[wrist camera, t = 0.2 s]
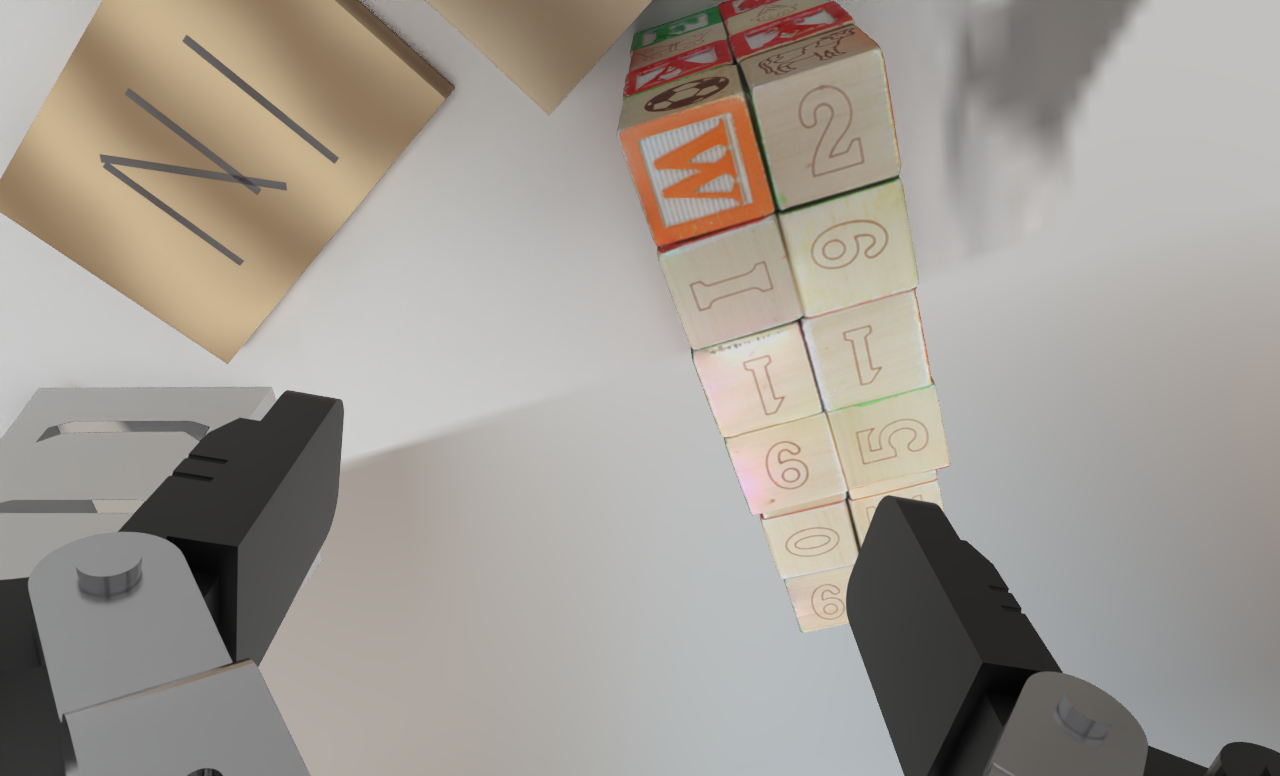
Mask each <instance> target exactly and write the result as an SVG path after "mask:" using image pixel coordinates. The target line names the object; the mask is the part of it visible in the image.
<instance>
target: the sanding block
mask: <svg viewBox="0 0 1280 776" xmlns="http://www.w3.org/2000/svg"><path fill="white" fill-rule="evenodd" d="M425 1H427V2H428V3H429V4H430V5H431V6H432V7H433V8H434V9H435V10H436V11H437V12H438V13H439V14H440V15H442V16H443V17H444V18H445V19H446V20H447V21H448V22H449V23H450V24H451V25H452V26H453V27H454V28H456V29H457V30H458V31H459V32H460V33H461V34H462V35H463V36H464V37H465V38H466V39H467V40H468V41H470V42H471V43H472V44H473V45H474V46H475V47H476V48H477V49H478V50H479V51H480V52H481V53H482V54H483V55H485V56H486V57H487V58H488V59H489V60H490V61H491V62H492V63H493V64H494V65H495V66H496V67H497V68H499V69H500V70H501V71H502V72H503V73H504V74H505V75H506V76H507V77H508V78H509V79H510V80H511V81H513V82H514V83H515V84H516V85H517V86H518V87H519V88H520V89H521V90H522V91H523V92H524V93H525V94H526V95H528V96H529V97H530V98H531V99H532V100H533V101H534V102H535V103H536V104H537V105H538V106H539V107H540V108H542V109H543V110H544V111H545V112H546V113H547V114H548V115H550V114H551V113H552V112H553V111H554V109H555V108H556V107H557V106H558V105H559V104H560V103H561V102H562V101H563V99H564V98H565V97H566V96H567V95H568V94H569V93H570V92H571V91H572V89H573V88H574V87H575V86H576V85H577V84H578V83H579V82H580V81H581V79H582V78H583V77H584V76H585V75H586V74H587V73H588V72H589V70H590V69H591V68H592V67H593V66H594V65H595V64H596V63H597V62H598V60H599V59H600V58H601V57H602V56H603V55H604V54H605V53H606V52H607V50H608V49H609V48H610V47H611V46H612V45H613V44H614V43H615V42H616V40H617V39H618V38H619V37H620V36H621V35H622V34H623V33H624V31H625V30H626V29H627V28H628V27H629V26H630V25H631V24H632V23H633V21H634V20H635V19H636V18H637V17H638V16H639V15H640V14H641V13H642V11H643V10H644V9H645V8H646V7H647V6H648V5H649V4H650V3H651V1H652V0H425Z"/></svg>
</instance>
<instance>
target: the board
mask: <svg viewBox="0 0 1280 776" xmlns="http://www.w3.org/2000/svg"><path fill="white" fill-rule="evenodd" d="M454 88H455V87H454V86H453V85H451V84H450V83H449V82H448V81H447V80H446V79H445V78H444V77H443V76H441V75H440V74H439V73H438V72H437V71H436V70H435V69H434V68H433V67H431V66H430V65H429V64H428V63H427V62H426V61H425V60H424V59H423V58H421V57H420V56H419V55H418V54H417V53H416V52H415V51H414V50H413V49H411V48H410V47H409V46H408V45H407V44H406V43H405V42H404V41H402V40H401V39H400V38H399V37H398V36H397V35H396V34H395V33H394V32H392V31H391V30H390V29H389V28H388V27H387V26H386V25H385V24H384V23H382V22H381V21H380V20H379V19H378V18H377V17H376V16H375V15H374V14H372V13H371V12H370V11H369V10H368V9H367V8H366V7H365V6H364V5H362V4H361V3H360V2H359V1H358V0H103V1H102V2H101V4H100V6H99V8H98V9H97V11H96V13H95V15H94V16H93V18H92V20H91V22H90V23H89V25H88V27H87V29H86V30H85V32H84V34H83V36H82V37H81V39H80V41H79V43H78V44H77V46H76V48H75V50H74V51H73V53H72V55H71V57H70V58H69V60H68V62H67V64H66V65H65V67H64V69H63V71H62V72H61V74H60V76H59V78H58V79H57V81H56V83H55V85H54V86H53V88H52V90H51V92H50V93H49V95H48V97H47V99H46V100H45V102H44V104H43V106H42V107H41V109H40V111H39V113H38V114H37V116H36V118H35V120H34V122H33V123H32V125H31V127H30V129H29V130H28V132H27V134H26V136H25V137H24V139H23V141H22V143H21V144H20V146H19V148H18V150H17V151H16V153H15V155H14V157H13V158H12V160H11V162H10V164H9V165H8V167H7V169H6V171H5V172H4V174H3V176H2V178H1V179H0V212H1V213H2V214H4V215H5V216H7V217H8V218H10V219H11V220H13V221H14V222H16V223H17V224H19V225H20V226H22V227H23V228H25V229H26V230H28V231H29V232H31V233H32V234H34V235H35V236H37V237H38V238H40V239H41V240H43V241H44V242H46V243H47V244H49V245H50V246H52V247H53V248H55V249H56V250H58V251H59V252H61V253H62V254H64V255H65V256H67V257H68V258H70V259H71V260H73V261H74V262H76V263H77V264H79V265H80V266H82V267H83V268H85V269H86V270H88V271H89V272H91V273H92V274H94V275H95V276H97V277H98V278H100V279H101V280H103V281H104V282H106V283H107V284H109V285H110V286H112V287H113V288H115V289H116V290H118V291H119V292H121V293H122V294H124V295H125V296H127V297H128V298H130V299H131V300H133V301H134V302H136V303H137V304H139V305H140V306H141V307H143V308H144V309H146V310H147V311H149V312H150V313H152V314H153V315H155V316H156V317H158V318H159V319H161V320H162V321H164V322H165V323H167V324H168V325H170V326H171V327H173V328H174V329H176V330H177V331H179V332H180V333H182V334H183V335H185V336H186V337H188V338H189V339H191V340H192V341H194V342H195V343H197V344H198V345H200V346H201V347H203V348H204V349H206V350H207V351H209V352H210V353H212V354H213V355H215V356H216V357H218V358H219V359H221V360H222V361H224V362H225V363H227V364H228V363H229V362H230V361H231V359H232V358H233V357H234V356H235V355H236V353H237V352H238V351H239V350H240V348H241V347H242V346H243V345H244V344H245V342H246V341H247V340H248V339H249V338H250V336H251V335H252V334H253V333H254V331H255V330H256V329H257V328H258V327H259V325H260V324H261V323H262V322H263V321H264V319H265V318H266V317H267V316H268V314H269V313H270V312H271V311H272V310H273V308H274V307H275V306H276V305H277V303H278V302H279V301H280V300H281V299H282V297H283V296H284V295H285V294H286V293H287V291H288V290H289V289H290V288H291V286H292V285H293V284H294V283H295V282H296V280H297V279H298V278H299V277H300V276H301V274H302V273H303V272H304V271H305V269H306V268H307V267H308V266H309V265H310V263H311V262H312V261H313V260H314V259H315V257H316V256H317V255H318V254H319V252H320V251H321V250H322V249H323V248H324V246H325V245H326V244H327V243H328V242H329V240H330V239H331V238H332V237H333V235H334V234H335V233H336V232H337V231H338V229H339V228H340V227H341V226H342V225H343V223H344V222H345V221H346V220H347V218H348V217H349V216H350V215H351V214H352V212H353V211H354V210H355V209H356V208H357V206H358V205H359V204H360V203H361V201H362V200H363V199H364V198H365V197H366V195H367V194H368V193H369V192H370V191H371V189H372V188H373V187H374V186H375V184H376V183H377V182H378V181H379V180H380V178H381V177H382V176H383V175H384V173H385V172H386V171H387V170H388V169H389V167H390V166H391V165H392V164H393V163H394V161H395V160H396V159H397V158H398V156H399V155H400V154H401V153H402V152H403V150H404V149H405V148H406V147H407V146H408V144H409V143H410V142H411V141H412V139H413V138H414V137H415V136H416V135H417V133H418V132H419V131H420V130H421V129H422V127H423V126H424V125H425V124H426V122H427V121H428V120H429V119H430V118H431V116H432V115H433V114H434V113H435V112H436V110H437V109H438V108H439V107H440V105H441V104H442V103H443V102H444V101H445V99H446V98H447V97H448V96H449V94H450V93H451V92H452V91H453V89H454Z"/></svg>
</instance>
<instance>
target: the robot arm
mask: <svg viewBox="0 0 1280 776" xmlns="http://www.w3.org/2000/svg"><path fill="white" fill-rule="evenodd" d="M343 418H344V408H343V402H342V400H340V399H335V398H330V397H324V396H318V395H312V394H307V393H301V392H295V391H289V390H288V391H285V392H284V393H283V394H282V395H281V396H280V398H279V399H278V400H277V401H276V403H275V404H274V405H273V406H272V407H271V409H270V410H269V411H268V412H267V414H266V415H265V416H264V417H263V418H262V420H261V421H258V420H252V419H246V418H238V419H236V420H234V421H232V422H230V423H227V424H225V425H223V426H221V427H219V428H217V429H215V430H213V431H211V432H209V433H207V434H206V435H205V437H204V438H203V439H202V440H201V441H200V442H199V443H198V444H197V445H196V446H195V447H194V449H193V450H192V451H191V452H190V453H189V456H188V458H184V460H183V461H182V462H181V463H180V464H179V465H178V466H177V467H176V468H175V469H174V471H173V474H172V476H168V477H167V478H166V479H165V480H164V481H163V483H162V484H161V485H160V486H159V487H158V488H157V489H156V490H155V491H154V492H153V494H152V495H151V496H150V497H149V498H148V499H147V500H146V501H145V502H144V503H143V504H142V506H141V507H140V508H139V509H138V510H137V511H136V512H135V513H134V514H133V515H132V517H131V518H130V519H129V520H128V521H127V522H126V523H125V524H124V525H123V526H122V527H121V529H120V530H119V531H118V532H111V533H104V534H97V535H93V536H89V537H84V538H81V539H78V540H75V541H72V542H70V543H68V544H66V545H63V546H61V547H59V548H57V549H56V550H54V551H52V552H51V553H49V554H48V555H47V556H45V557H44V558H43V559H42V560H41V561H40V562H39V563H38V564H37V565H36V566H35V567H34V569H33V570H32V572H31V574H30V577H25V578H16V579H5V580H0V776H311V775H310V773H309V771H308V769H307V767H306V765H305V763H304V761H303V759H302V757H301V755H300V753H299V750H298V748H297V746H296V744H295V742H294V740H293V738H292V736H291V734H290V732H289V730H288V728H287V726H286V724H285V722H284V719H283V718H282V715H281V713H280V711H279V709H278V707H277V705H276V703H275V701H274V699H273V697H272V695H271V693H270V691H269V688H268V686H267V684H266V682H265V680H264V678H263V676H262V674H261V672H260V670H259V668H258V666H259V664H260V662H261V661H262V659H263V657H264V655H265V653H266V651H267V649H268V647H269V645H270V643H271V642H272V640H273V638H274V636H275V634H276V632H277V630H278V628H279V626H280V625H281V623H282V621H283V619H284V617H285V615H286V613H287V611H288V609H289V607H290V605H291V604H292V602H293V600H294V598H295V596H296V594H297V592H298V590H299V588H300V587H301V585H302V583H303V581H304V579H305V577H306V575H307V573H308V571H309V569H310V568H311V566H312V564H313V562H314V560H315V558H316V556H317V554H318V552H319V550H320V549H321V546H322V545H323V543H324V541H325V539H326V537H327V535H328V532H329V530H330V527H331V524H332V521H333V517H334V513H335V509H336V504H337V497H338V488H339V474H340V460H341V446H342V432H343ZM1008 589H1009V588H1008V587H1007V585H1006V584H1005V582H1004V581H1003V579H1002V578H1001V576H1000V574H999V573H998V571H997V570H996V568H995V567H994V565H993V564H992V563H991V562H990V561H989V560H987V559H986V558H985V557H984V556H983V555H982V554H981V553H979V552H978V551H977V550H976V549H975V548H974V547H973V546H972V545H970V544H969V543H968V542H967V541H964V540H960V538H959V537H958V535H957V534H956V532H955V530H954V529H953V527H952V525H951V524H950V522H949V521H948V519H947V517H946V516H945V514H944V512H943V511H942V509H941V508H940V506H939V505H937V504H936V503H931V502H926V501H920V500H914V499H908V498H902V497H897V496H891V495H887V496H885V497H884V498H882V500H881V501H880V502H879V504H878V506H877V508H876V510H875V513H874V515H873V518H872V520H871V523H870V526H869V528H868V531H867V533H866V536H865V539H864V541H863V544H862V546H861V549H860V552H859V554H858V557H857V559H856V562H855V564H854V567H853V570H852V572H851V575H850V578H849V581H848V586H847V593H846V611H847V617H848V620H849V623H850V626H851V628H852V631H853V634H854V637H855V640H856V642H857V645H858V648H859V651H860V654H861V656H862V659H863V662H864V665H865V667H866V670H867V673H868V676H869V679H870V681H871V684H872V687H873V690H874V692H875V695H876V698H877V701H878V703H879V706H880V709H881V712H882V715H883V717H884V720H885V723H886V726H887V728H888V731H889V734H890V737H891V739H892V742H893V745H894V748H895V751H896V753H897V756H898V759H899V762H900V764H901V767H902V770H903V773H904V775H905V776H1280V753H1278V752H1276V751H1274V750H1272V749H1269V748H1266V747H1263V746H1260V745H1256V744H1252V743H1246V742H1233V743H1230V744H1227V745H1226V746H1224V747H1223V748H1222V750H1221V751H1220V753H1219V754H1218V756H1217V757H1216V759H1215V760H1214V762H1213V763H1212V765H1211V766H1210V767H1209V768H1206V767H1203V766H1200V765H1198V764H1195V763H1193V762H1190V761H1187V760H1185V759H1182V758H1180V757H1177V756H1174V755H1172V754H1169V753H1166V752H1164V751H1161V750H1159V749H1156V748H1153V747H1151V746H1148V742H1147V738H1146V735H1145V733H1144V731H1143V729H1142V727H1141V726H1140V724H1139V723H1138V721H1137V720H1136V719H1135V718H1134V716H1133V715H1132V714H1131V713H1130V712H1129V711H1128V710H1127V709H1126V708H1125V707H1124V706H1123V705H1122V704H1121V703H1119V702H1118V701H1117V700H1116V699H1115V698H1113V697H1112V696H1110V695H1109V694H1108V693H1106V692H1105V691H1103V690H1101V689H1100V688H1098V687H1096V686H1095V685H1092V684H1091V683H1089V682H1087V681H1084V680H1082V679H1079V678H1077V677H1074V676H1071V675H1068V674H1064V673H1062V671H1061V669H1060V668H1059V666H1058V664H1057V663H1056V661H1055V660H1054V658H1053V657H1052V655H1051V654H1050V652H1049V650H1048V649H1047V647H1046V646H1045V644H1044V643H1043V641H1042V640H1041V638H1040V637H1039V635H1038V633H1037V632H1036V631H1035V629H1034V627H1033V626H1032V624H1031V623H1030V621H1029V619H1028V618H1027V616H1026V615H1025V614H1022V613H1021V607H1020V605H1019V604H1018V602H1017V601H1016V599H1015V598H1014V596H1013V595H1012V594H1011V593H1008Z"/></svg>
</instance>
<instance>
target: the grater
mask: <svg viewBox="0 0 1280 776" xmlns="http://www.w3.org/2000/svg"><path fill="white" fill-rule="evenodd" d="M275 403H276V399H275V396H274V393H273V389H272V387H151V388H39V389H38V390H37V392H36V393H35V394H34V396H33V397H32V398H31V400H30V401H29V402H28V404H27V405H26V406H25V408H24V409H23V411H22V412H21V413H20V415H19V416H18V417H17V419H16V420H15V421H14V423H13V424H12V425H11V427H10V428H9V429H8V431H7V432H6V433H5V435H4V436H3V437H2V439H1V440H0V580H5V579H16V578H25V577H30V574H31V572H32V570H33V569H34V567H35V566H36V565H37V564H38V563H39V562H40V561H41V560H42V559H43V558H44V557H45V556H47V555H48V554H49V553H51V552H52V551H54V550H56V549H57V548H59V547H61V546H63V545H66V544H68V543H70V542H72V541H75V540H78V539H81V538H84V537H89V536H93V535H97V534H104V533H111V532H118V531H119V530H120V529H121V527H122V526H123V525H124V524H125V523H126V522H127V521H128V520H129V519H130V518H131V517H132V515H133V514H132V513H97V510H96V508H95V506H94V504H93V502H92V500H143V501H146V500H147V499H148V498H149V497H150V496H151V495H152V494H153V492H154V491H155V490H156V489H157V488H158V487H159V486H160V485H161V484H162V483H163V481H164V480H165V479H166V478H167V477H168V476H172V474H173V471H174V469H175V468H176V467H177V466H178V465H179V464H180V463H181V462H182V461H183V460H184V458H188V456H189V453H190V452H191V451H192V450H193V449H194V447H195V446H196V445H197V444H198V443H199V442H200V441H198V440H197V439H195V438H193V437H192V436H190V435H189V434H187V433H186V432H98V433H97V432H94V433H63V434H61V433H60V431H59V429H58V427H57V425H61V424H65V423H70V422H74V421H194V422H197V423H200V424H203V425H206V426H209V427H210V428H209V430H208V431H207V433H209V432H211V431H213V430H215V429H217V428H219V427H221V426H223V425H225V424H227V423H230V422H232V421H234V420H236V419H238V418H246V419H252V420H258V421H261V420H262V418H263V417H264V416H265V415H266V414H267V412H268V411H269V410H270V409H271V407H272V406H273V405H274V404H275ZM207 433H206V434H207ZM204 437H205V436H204ZM321 561H322V557H321V553H320V550H319V552H318V554H317V556H316V558H315V560H314V562H313V564H312V566H311V568H310V569H309V571H308V573H307V575H306V577H305V579H304V581H303V583H302V585H301V587H300V588H299V590H298V592H297V594H296V596H295V598H296V597H297V595H298V594H299V592H300V591H301V590H302V588H303V587H304V585H305V584H306V582H307V581H308V580H309V578H310V577H311V575H312V574H313V572H314V571H315V570H316V568H317V567H318V565H319V564H320V562H321ZM295 598H294V599H295ZM293 601H294V600H293Z"/></svg>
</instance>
